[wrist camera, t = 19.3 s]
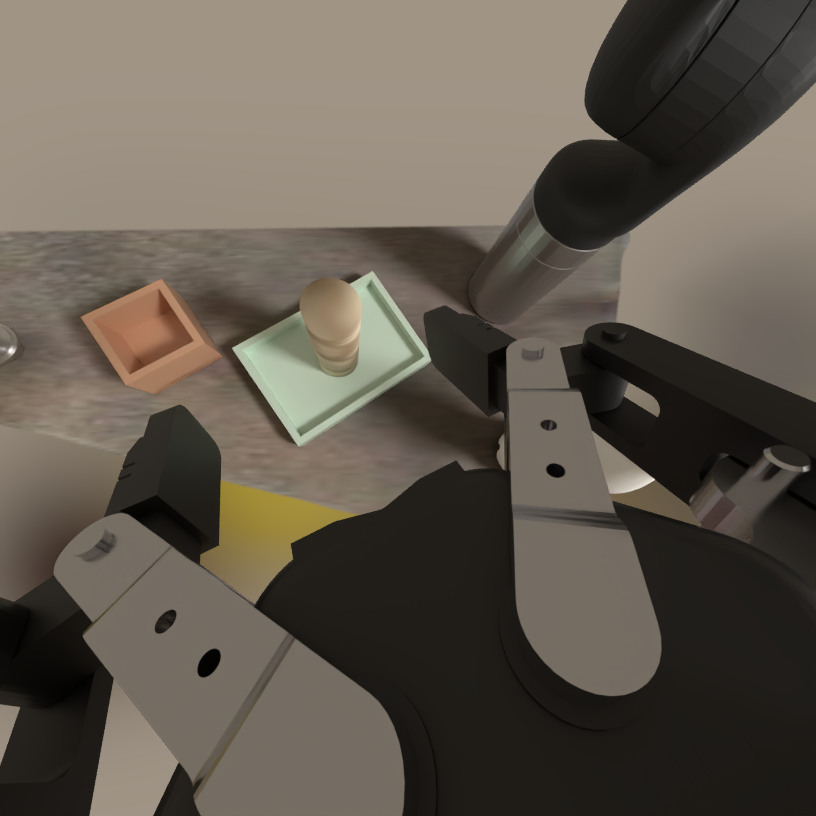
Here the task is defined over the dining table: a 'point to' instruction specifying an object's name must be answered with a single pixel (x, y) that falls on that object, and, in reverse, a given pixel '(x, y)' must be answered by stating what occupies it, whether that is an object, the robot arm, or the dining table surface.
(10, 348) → the screw
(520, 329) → the dining table surface
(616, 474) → the water bottle
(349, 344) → the birch pin
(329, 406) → the pale green tray
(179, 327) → the terracotta holder
